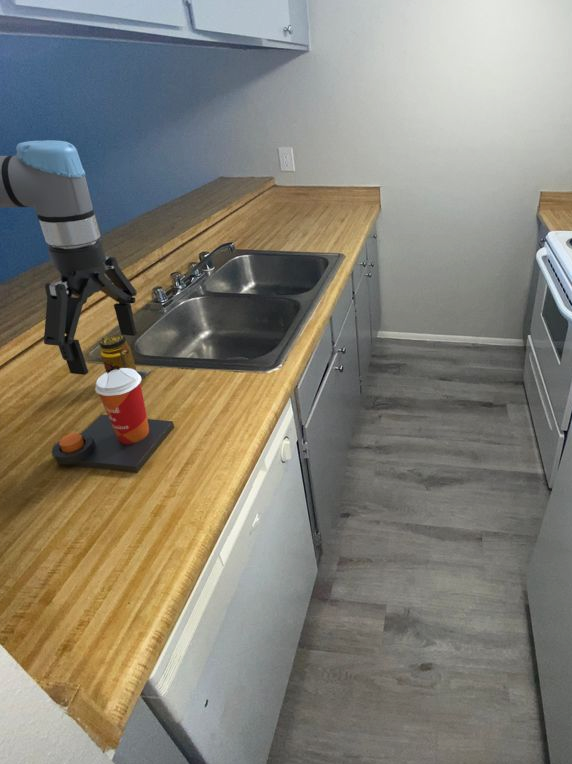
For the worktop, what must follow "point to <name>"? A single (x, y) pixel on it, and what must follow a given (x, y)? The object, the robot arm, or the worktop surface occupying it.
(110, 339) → the condiment
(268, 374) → the worktop surface
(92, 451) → the scale
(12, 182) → the robot arm
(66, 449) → the tare button
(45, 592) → the worktop surface
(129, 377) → the paper cup
